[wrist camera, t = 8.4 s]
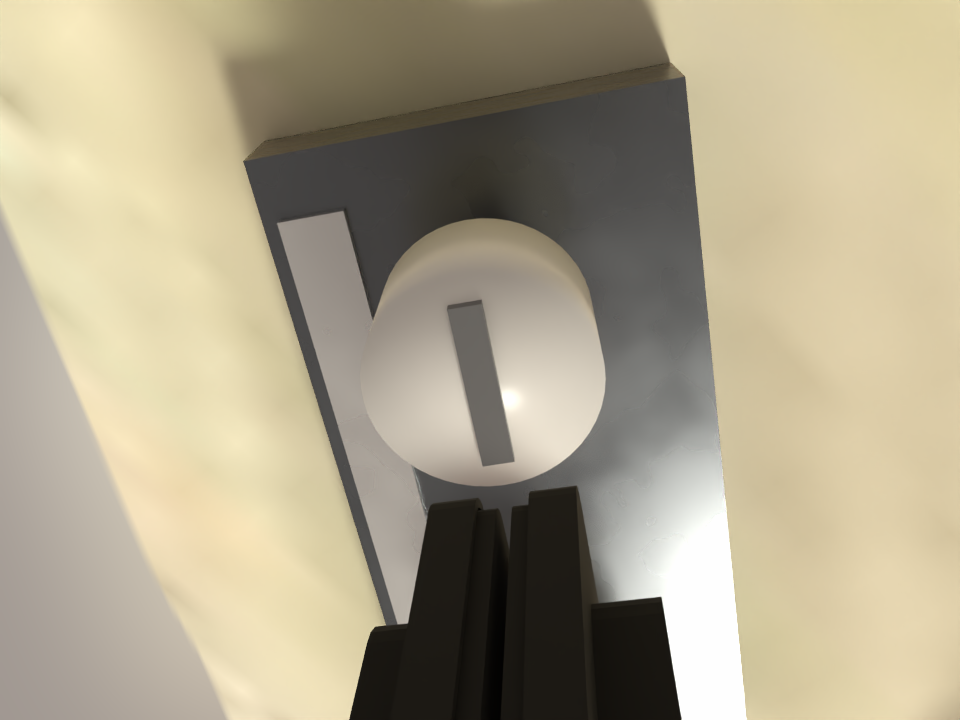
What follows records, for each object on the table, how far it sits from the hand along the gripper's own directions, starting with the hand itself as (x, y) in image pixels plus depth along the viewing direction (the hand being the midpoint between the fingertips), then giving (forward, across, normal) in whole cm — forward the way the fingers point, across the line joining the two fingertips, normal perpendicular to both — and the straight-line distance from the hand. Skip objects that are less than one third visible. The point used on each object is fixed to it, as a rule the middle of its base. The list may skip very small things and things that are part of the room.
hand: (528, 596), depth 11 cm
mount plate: (+14, +1, +8) cm, 16 cm away
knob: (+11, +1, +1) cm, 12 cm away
